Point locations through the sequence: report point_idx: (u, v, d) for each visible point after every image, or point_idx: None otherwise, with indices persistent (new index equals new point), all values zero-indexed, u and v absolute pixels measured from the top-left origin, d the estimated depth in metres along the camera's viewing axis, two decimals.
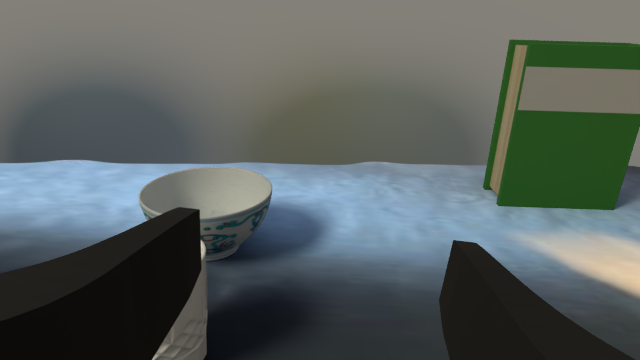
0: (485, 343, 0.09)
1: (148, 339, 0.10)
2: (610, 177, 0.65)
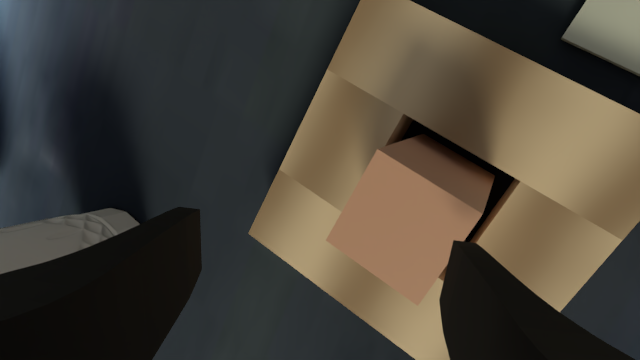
0: (484, 344, 0.09)
1: (148, 339, 0.10)
2: None
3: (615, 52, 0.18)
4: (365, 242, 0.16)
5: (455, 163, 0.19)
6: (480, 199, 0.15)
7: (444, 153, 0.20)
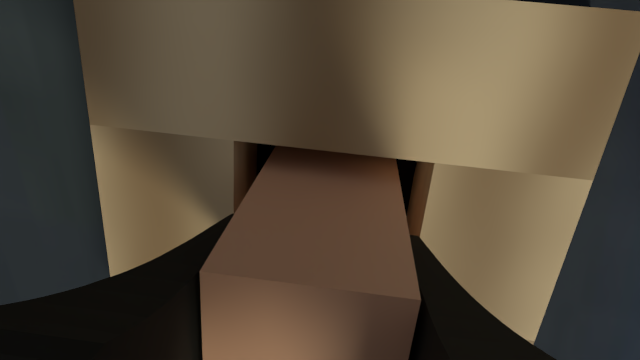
0: None
1: None
2: None
3: None
4: None
5: (339, 174, 0.13)
6: (401, 247, 0.09)
7: (318, 161, 0.13)
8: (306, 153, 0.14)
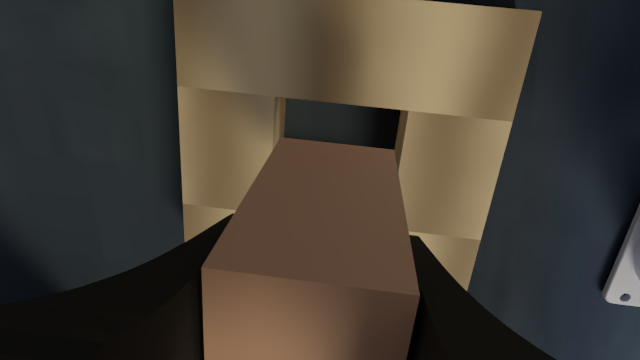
0: None
1: None
2: None
3: None
4: None
5: (339, 172, 0.13)
6: (400, 244, 0.09)
7: (318, 160, 0.14)
8: (306, 152, 0.14)
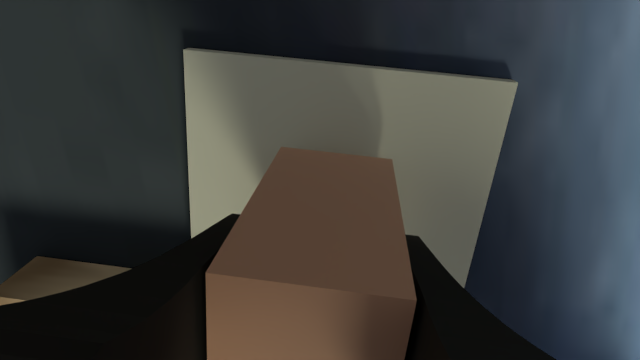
0: (410, 333, 0.09)
1: None
2: None
3: None
4: None
5: (338, 181, 0.13)
6: (397, 251, 0.10)
7: (318, 169, 0.14)
8: (306, 161, 0.14)
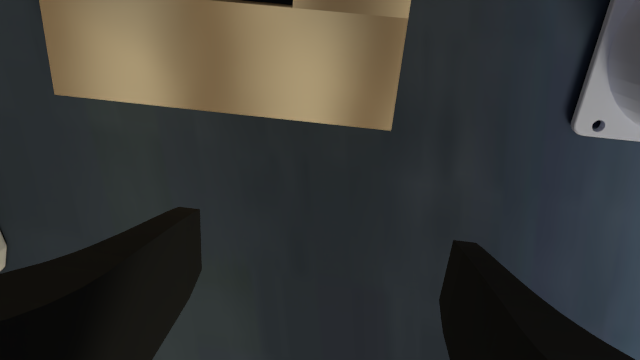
0: (485, 343, 0.09)
1: (148, 339, 0.10)
2: None
3: None
4: None
5: None
6: None
7: None
8: None
